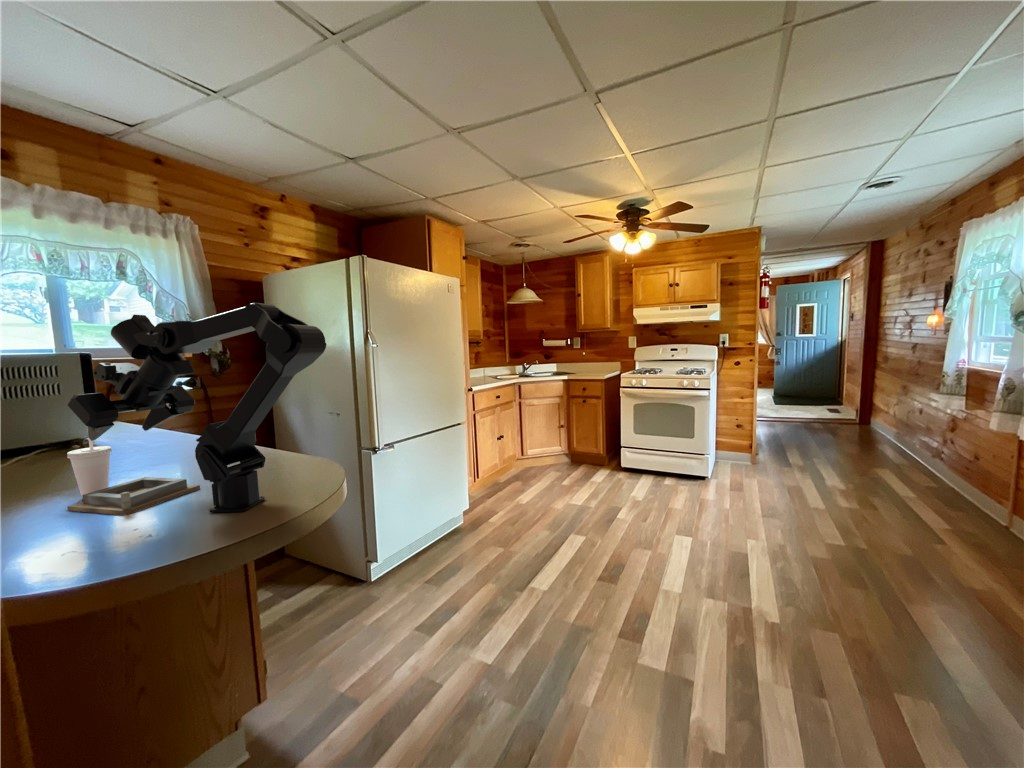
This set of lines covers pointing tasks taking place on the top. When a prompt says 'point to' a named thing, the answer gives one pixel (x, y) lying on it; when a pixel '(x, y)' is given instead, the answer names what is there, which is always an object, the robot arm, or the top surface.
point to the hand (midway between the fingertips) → (119, 433)
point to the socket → (133, 495)
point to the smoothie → (91, 467)
